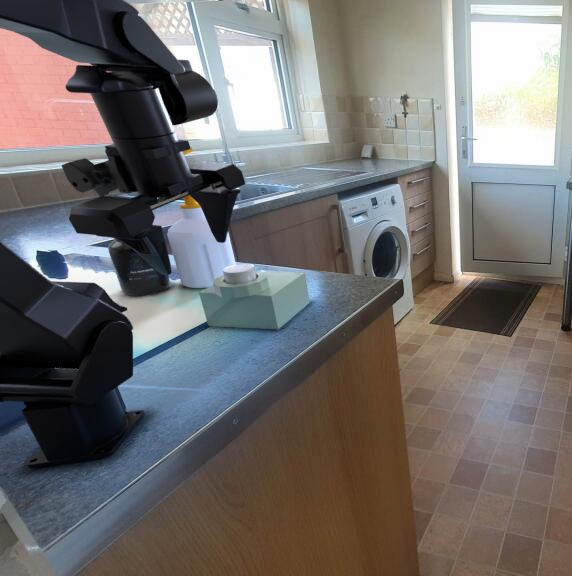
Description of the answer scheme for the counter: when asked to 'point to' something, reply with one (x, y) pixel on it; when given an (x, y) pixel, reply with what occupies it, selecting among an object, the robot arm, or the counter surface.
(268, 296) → the push button box
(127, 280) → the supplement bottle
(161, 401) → the counter surface
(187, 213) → the soap bottle
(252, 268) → the flush button
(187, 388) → the counter surface
